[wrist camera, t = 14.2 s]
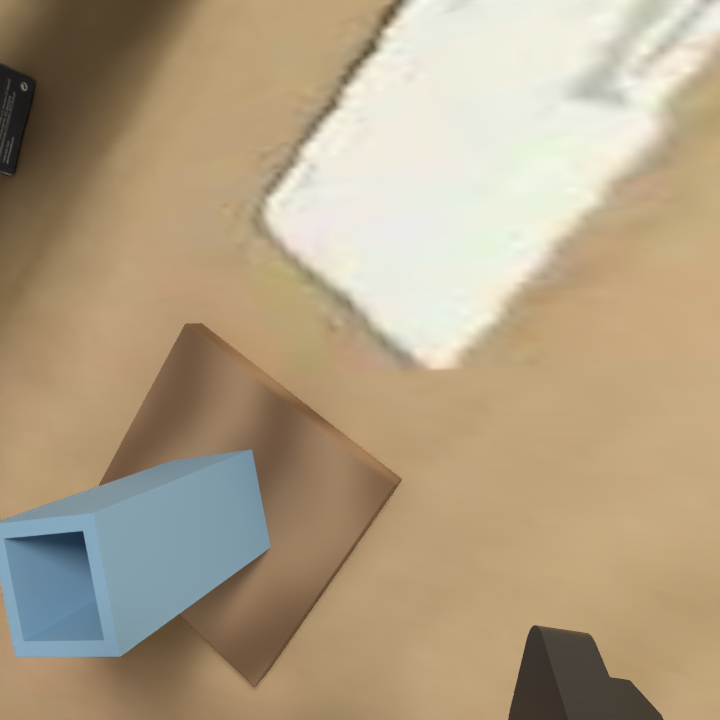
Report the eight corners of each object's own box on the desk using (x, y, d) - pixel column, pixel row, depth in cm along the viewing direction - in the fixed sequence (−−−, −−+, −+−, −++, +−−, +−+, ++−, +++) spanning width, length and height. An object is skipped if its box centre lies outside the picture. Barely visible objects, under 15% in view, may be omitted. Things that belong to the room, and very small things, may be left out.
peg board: (98, 512, 38) (-13, 557, 31) (201, 323, 35) (102, 326, 28) (268, 671, 35) (185, 762, 28) (401, 479, 31) (346, 527, 24)
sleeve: (188, 553, 34) (15, 656, 24) (171, 460, 34) (-11, 524, 24) (270, 547, 32) (120, 656, 22) (251, 449, 32) (92, 512, 22)
